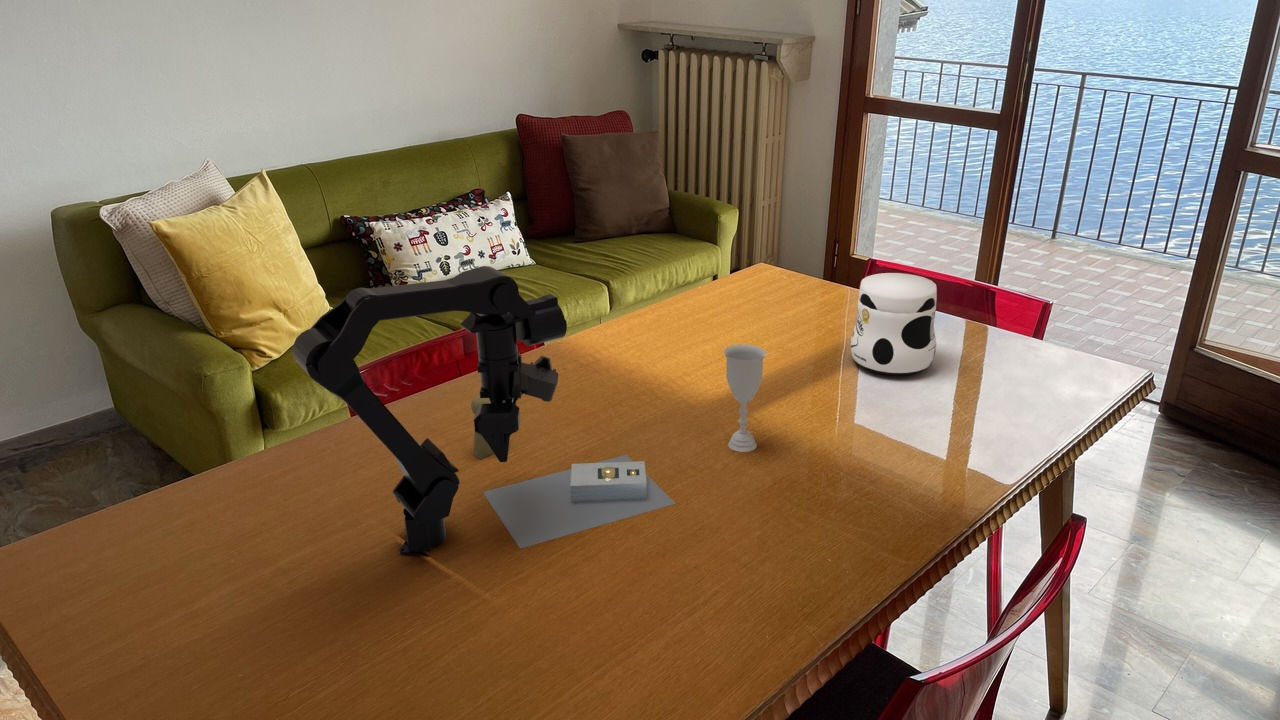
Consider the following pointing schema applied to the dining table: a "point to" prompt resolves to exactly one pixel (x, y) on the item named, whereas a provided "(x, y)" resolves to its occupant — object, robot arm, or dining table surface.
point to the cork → (480, 444)
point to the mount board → (563, 507)
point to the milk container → (895, 324)
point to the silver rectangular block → (608, 482)
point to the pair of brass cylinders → (612, 473)
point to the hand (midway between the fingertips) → (506, 446)
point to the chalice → (743, 387)
